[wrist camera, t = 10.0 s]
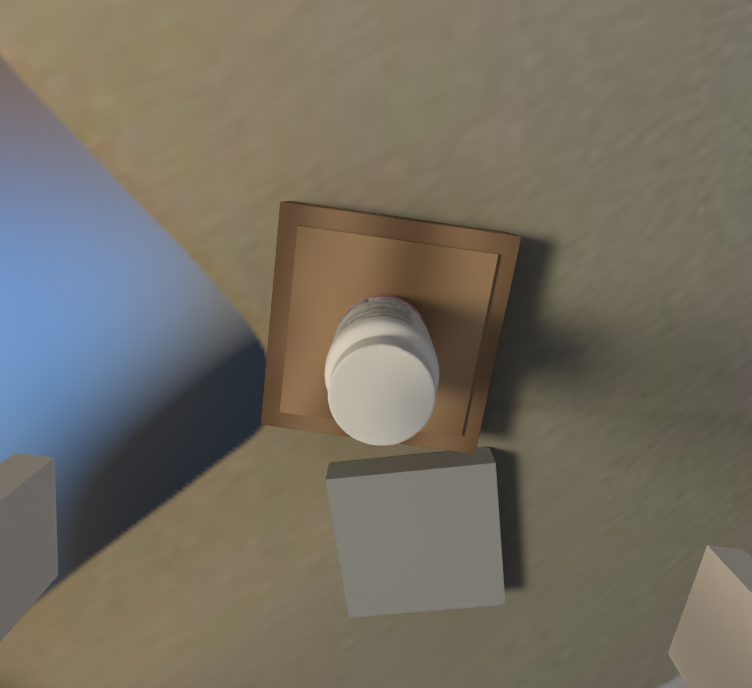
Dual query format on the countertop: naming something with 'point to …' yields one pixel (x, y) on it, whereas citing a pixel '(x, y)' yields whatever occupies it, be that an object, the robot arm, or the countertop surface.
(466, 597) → the slate tile
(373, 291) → the walnut stand
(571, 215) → the countertop surface
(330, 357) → the pill bottle
